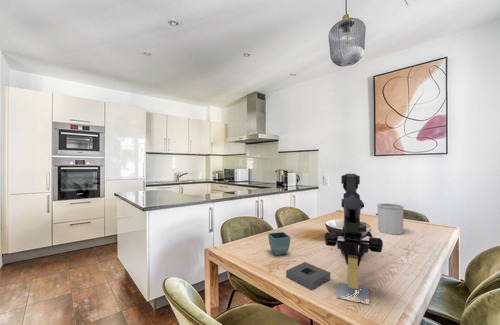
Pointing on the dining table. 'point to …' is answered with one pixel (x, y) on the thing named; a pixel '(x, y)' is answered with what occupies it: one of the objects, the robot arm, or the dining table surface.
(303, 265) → the socket plate
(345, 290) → the rubber mat
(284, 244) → the flower pot
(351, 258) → the brass peg
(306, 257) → the dining table surface
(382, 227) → the utensil holder
